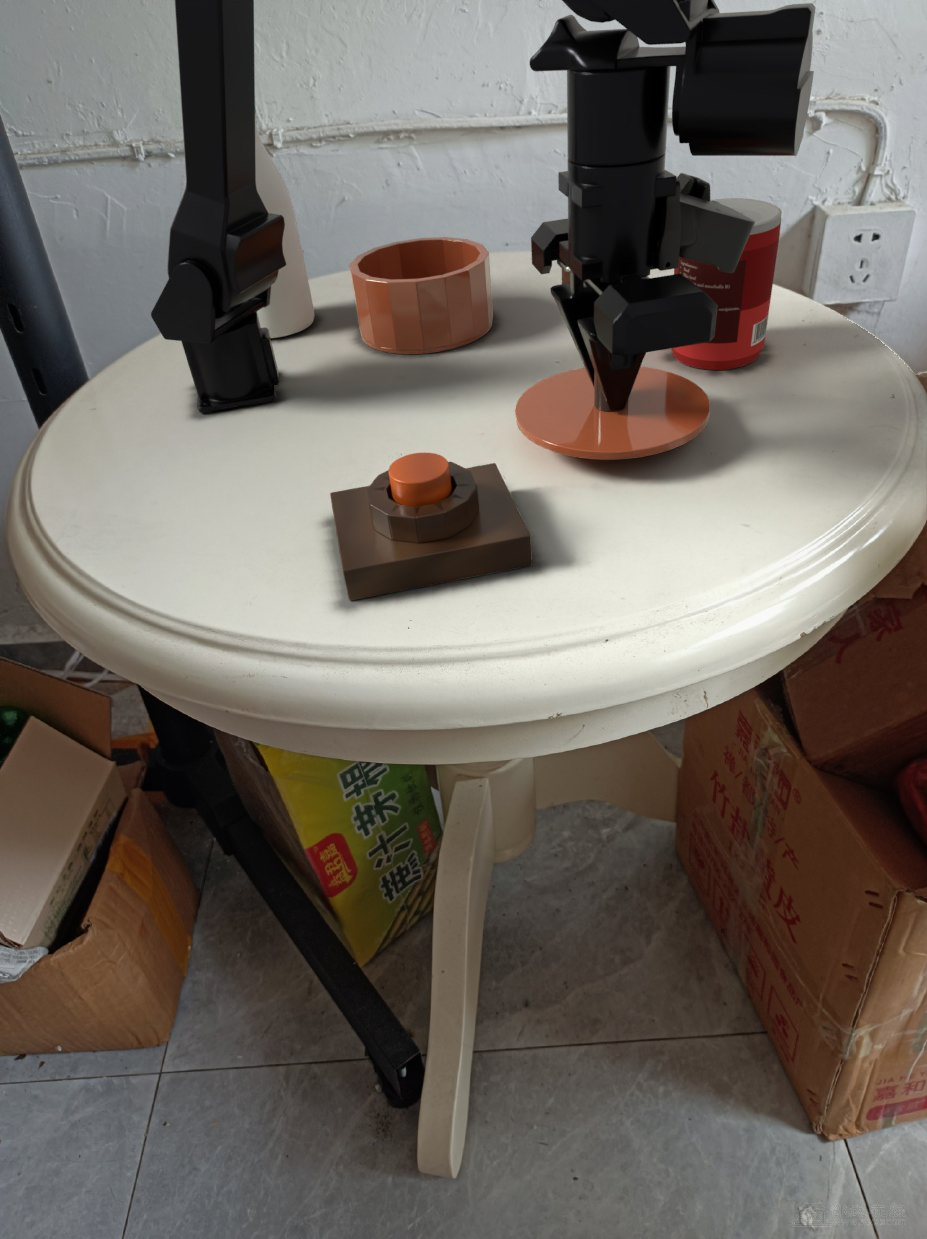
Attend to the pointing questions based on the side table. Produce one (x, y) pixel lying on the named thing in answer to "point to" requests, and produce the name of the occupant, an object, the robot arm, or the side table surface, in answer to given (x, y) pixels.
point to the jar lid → (612, 415)
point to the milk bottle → (291, 286)
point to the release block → (428, 534)
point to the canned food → (737, 293)
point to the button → (420, 479)
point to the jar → (423, 294)
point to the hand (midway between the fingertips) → (610, 401)
